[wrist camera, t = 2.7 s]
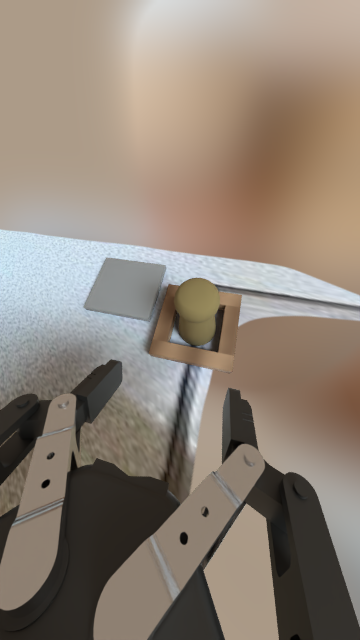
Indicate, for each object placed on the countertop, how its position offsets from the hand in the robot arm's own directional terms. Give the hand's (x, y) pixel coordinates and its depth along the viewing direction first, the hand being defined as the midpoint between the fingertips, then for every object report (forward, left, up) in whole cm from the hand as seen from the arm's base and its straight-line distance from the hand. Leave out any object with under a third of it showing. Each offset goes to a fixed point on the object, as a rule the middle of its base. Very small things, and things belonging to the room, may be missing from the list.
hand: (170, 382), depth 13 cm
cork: (0, +9, -14) cm, 17 cm away
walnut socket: (0, +9, -14) cm, 17 cm away
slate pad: (-14, +14, -14) cm, 24 cm away
